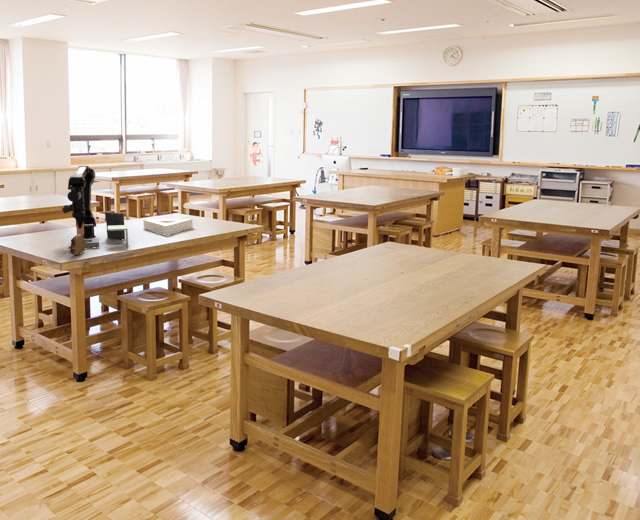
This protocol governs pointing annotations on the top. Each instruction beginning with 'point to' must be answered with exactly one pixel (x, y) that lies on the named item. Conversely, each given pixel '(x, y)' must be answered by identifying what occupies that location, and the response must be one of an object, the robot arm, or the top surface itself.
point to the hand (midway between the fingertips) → (80, 227)
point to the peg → (80, 229)
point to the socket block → (91, 243)
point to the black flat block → (113, 220)
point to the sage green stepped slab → (119, 227)
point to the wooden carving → (77, 245)
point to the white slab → (168, 225)
